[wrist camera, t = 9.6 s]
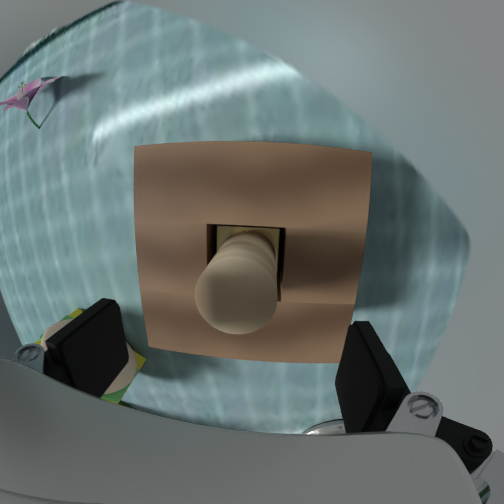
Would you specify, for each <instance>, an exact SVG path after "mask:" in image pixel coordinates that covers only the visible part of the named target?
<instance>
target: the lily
mask: <svg viewBox="0 0 504 504" xmlns="http://www.w3.org/2000/svg"><path fill="white" fill-rule="evenodd" d="M60 77H62V76H60ZM60 77H57V78H60ZM57 78H53V79H50V80H47V81H46V82H44V83H42V84H41V78H39V79H37V80H34V81H32V82H30V83H28V84H25V86H23V87H22V84H23V82H22V83H21V87H22V88H21V89H20V90H19V91H18V93H17V94H16V95H14V96H12V97H10V98H8V99H6V100H5V101H3V102H0V105H4V104H7V105H9V106H5V107H4V109H3V111H4V112H5V111H6V110H8V109H9V108H10V107H14V108H18V109H22V110H24V111H25V112H26V114H27V115H28V117H29V119H30V120H31V121H32V122H33V124H34V125H35V126H36V127H37V128H38V129H39V128H40V127H39V126H38V125H37V124H36V123H35V122H34V120H33V119H32V118H31V116H30V115H29V112H28V110H27V108H28V106H29V104H30V103H31V101H32V99H33V98H34V96H35V95H36V94H37V92H38V91H39V90H40V89H41V88H42V87H43V86H45V85H46V84H48V83H51V82H53V81H55V79H57ZM18 87H19V86H18ZM19 88H20V87H19Z"/></svg>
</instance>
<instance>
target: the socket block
mask: <svg viewBox="0 0 504 504" xmlns="http://www.w3.org/2000/svg"><path fill="white" fill-rule="evenodd" d="M371 172H372V152H366V151H359V150H352V149H345V148H337V147H328V146H318V145H307V144H294V143H278V142H253V141H205V142H180V143H164V144H152V145H141V146H135V150H134V219H135V239H136V253H137V265H138V275H139V284H140V293H141V300H142V308H143V315H144V321H145V327H146V333H147V339H148V345H149V347H153V348H158V349H164V350H170V351H176V352H183V353H189V354H197V355H204V356H212V357H221V358H231V359H241V360H254V361H269V362H290V363H340V360H341V356H342V352H343V348H344V343H345V339H346V335H347V330H348V327H349V325H351V320H352V316H353V311H354V306H355V301H356V296H357V291H358V285H359V279H360V273H361V267H362V261H363V254H364V247H365V239H366V231H367V222H368V212H369V201H370V188H371ZM219 224H227V225H248V226H267V227H279V228H280V230H279V246H278V262H277V307H276V310H275V313H274V315H273V317H272V318H271V319H270V321H269V322H268V323H267V324H266V325H265V326H263V327H262V328H260V329H259V330H257V331H255V332H251V333H248V334H229V333H225V332H222V331H220V330H218V329H216V328H214V327H213V326H211V325H210V324H209V323H208V322H207V321H206V320H205V319H204V318H203V317H202V316H201V314H200V312H199V311H198V308H197V306H196V302H195V287H196V284H197V281H198V279H199V277H200V276H201V274H202V273H203V271H204V270H205V269H206V267H207V266H208V264H209V263H210V262H211V260H212V259H213V257H214V256H215V255H216V253H217V226H218V225H219Z"/></svg>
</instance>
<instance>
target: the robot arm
mask: <svg viewBox="0 0 504 504" xmlns="http://www.w3.org/2000/svg"><path fill="white" fill-rule="evenodd" d="M45 343H46V346H47V350H46V351H45V350H44V348H43V347H42V346H41V345H39V344H35V343H33V344H26V345H24V346H22V347H20V348H19V349H18V350H17V351H16V352H15V354H14V358H13V361H8V360H1V359H0V504H504V453H502V452H501V451H499V450H496V451H495V452H493V451H492V446H493V445H492V441H491V439H490V438H489V436H488V435H487V434H486V433H484V432H482V431H480V430H477V429H474V428H472V427H469V426H466V425H464V424H461V423H458V422H456V421H453V420H451V419H448V418H446V417H443V416H442V414H443V406H442V403H441V402H440V401H439V399H438V398H436V397H435V396H434V395H431V394H429V393H426V392H413V393H411V392H410V390H409V388H408V386H407V385H406V383H405V381H404V379H403V377H402V375H401V374H400V372H399V370H398V368H397V366H396V365H395V363H394V361H393V359H392V358H391V356H390V355H389V353H387V351H386V349H385V347H384V346H383V344H382V342H381V340H380V339H379V337H378V335H377V334H376V332H375V330H374V329H373V327H372V325H371V324H370V322H369V321H354V323H353V325H349V327H348V330H347V335H346V339H345V343H344V348H343V352H342V356H341V360H340V364H339V368H338V371H337V375H336V379H335V387H336V391H337V396H338V400H339V404H340V409H341V413H342V418H343V420H338V421H331V422H327V423H323V424H320V425H317V426H314V427H312V428H310V429H308V430H306V431H304V432H303V433H302V434H281V433H263V432H251V431H241V430H232V429H225V428H218V427H211V426H205V425H199V424H194V423H188V422H183V421H179V420H174V419H170V418H165V417H161V416H157V415H153V414H149V413H146V412H142V411H139V410H135V409H132V408H128V407H125V406H122V405H119V404H116V403H113V402H110V401H107V400H104V399H101V397H102V395H103V394H104V393H105V391H106V390H107V389H108V388H109V386H110V385H111V384H112V382H113V381H114V380H115V379H116V377H117V376H118V375H119V373H120V372H121V371H122V370H123V368H124V367H125V366H126V365H127V363H128V361H129V353H128V349H127V344H126V339H125V334H124V329H123V324H122V318H121V312H120V307H119V305H118V304H117V303H116V301H115V300H112V299H106V298H102V299H100V300H99V301H98V302H96V303H95V304H93V305H92V306H91V307H89V308H88V309H87V310H85V311H84V312H82V313H81V314H80V315H78V316H77V317H76V318H74V319H73V320H72V321H70V322H69V323H68V324H66V325H65V326H64V327H62V328H61V329H60V330H58V331H57V332H56V333H55V334H53V335H52V336H51V337H49V338H48V339H47V340H46V341H45Z"/></svg>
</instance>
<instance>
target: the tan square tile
mask: <svg viewBox="0 0 504 504" xmlns="http://www.w3.org/2000/svg"><path fill="white" fill-rule="evenodd" d="M242 230H253V231H256V232H259V233H261V234H263V235H264V236H266V237H267V238H268V239H269V241H270V242H271V243H272V245H273V247H274V250H275V255H276V276H277V262H278V246H279V230H280V228H279V227H267V226H248V225H227V224H219V225H218V226H217V252H218V250H219V249H220V248H221V246H222V245H223V243H224V242H225V241H226V239H227V238H228V237H229V236H231V235H232V234H234V233H236V232H238V231H242Z"/></svg>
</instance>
